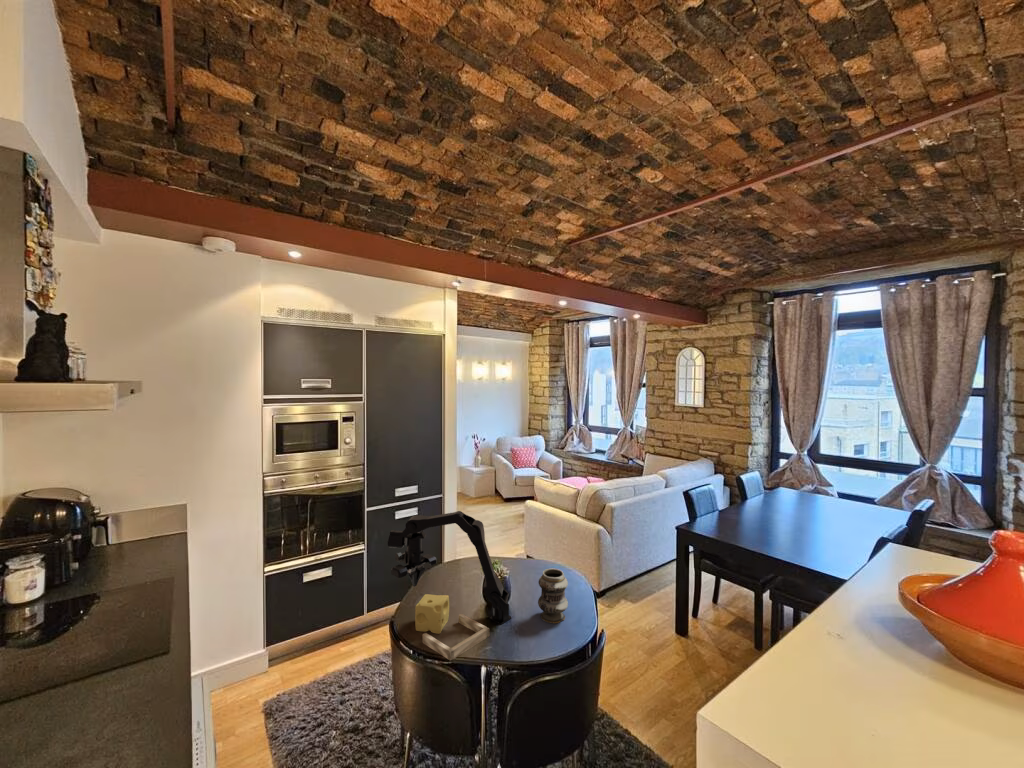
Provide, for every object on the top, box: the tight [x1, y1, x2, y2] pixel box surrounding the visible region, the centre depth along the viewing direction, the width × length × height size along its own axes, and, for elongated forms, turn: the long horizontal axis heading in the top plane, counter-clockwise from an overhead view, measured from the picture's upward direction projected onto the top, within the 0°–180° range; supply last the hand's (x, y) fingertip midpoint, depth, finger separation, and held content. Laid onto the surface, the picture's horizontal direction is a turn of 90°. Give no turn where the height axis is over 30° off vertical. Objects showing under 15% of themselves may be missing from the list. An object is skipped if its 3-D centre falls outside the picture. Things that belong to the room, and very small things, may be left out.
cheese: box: [414, 593, 450, 635], centre depth 170 cm, size 10×11×10 cm
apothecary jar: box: [537, 567, 569, 624], centre depth 176 cm, size 12×12×18 cm
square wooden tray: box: [422, 613, 490, 661], centre depth 161 cm, size 16×19×3 cm
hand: (414, 586), depth 178 cm, fingers closed
